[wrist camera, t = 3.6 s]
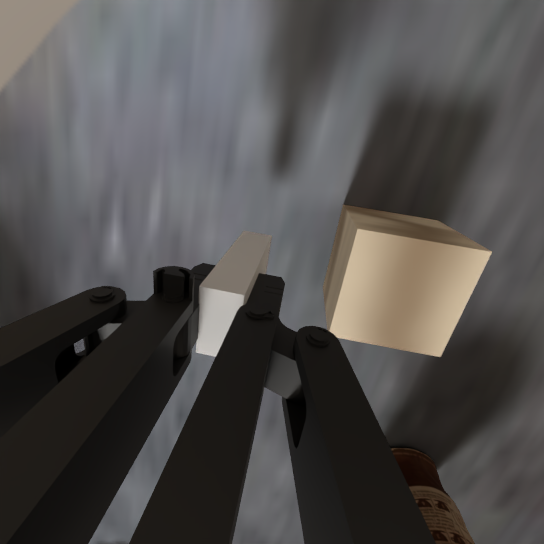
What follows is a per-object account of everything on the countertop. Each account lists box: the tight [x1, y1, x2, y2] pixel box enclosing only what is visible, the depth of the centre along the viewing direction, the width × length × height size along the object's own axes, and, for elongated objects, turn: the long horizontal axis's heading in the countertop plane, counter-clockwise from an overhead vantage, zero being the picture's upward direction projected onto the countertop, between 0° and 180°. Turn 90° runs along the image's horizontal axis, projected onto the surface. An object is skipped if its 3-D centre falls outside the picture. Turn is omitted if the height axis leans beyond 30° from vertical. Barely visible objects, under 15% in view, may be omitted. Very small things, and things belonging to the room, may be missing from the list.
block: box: [323, 205, 492, 357], centre depth 17 cm, size 6×6×6 cm
